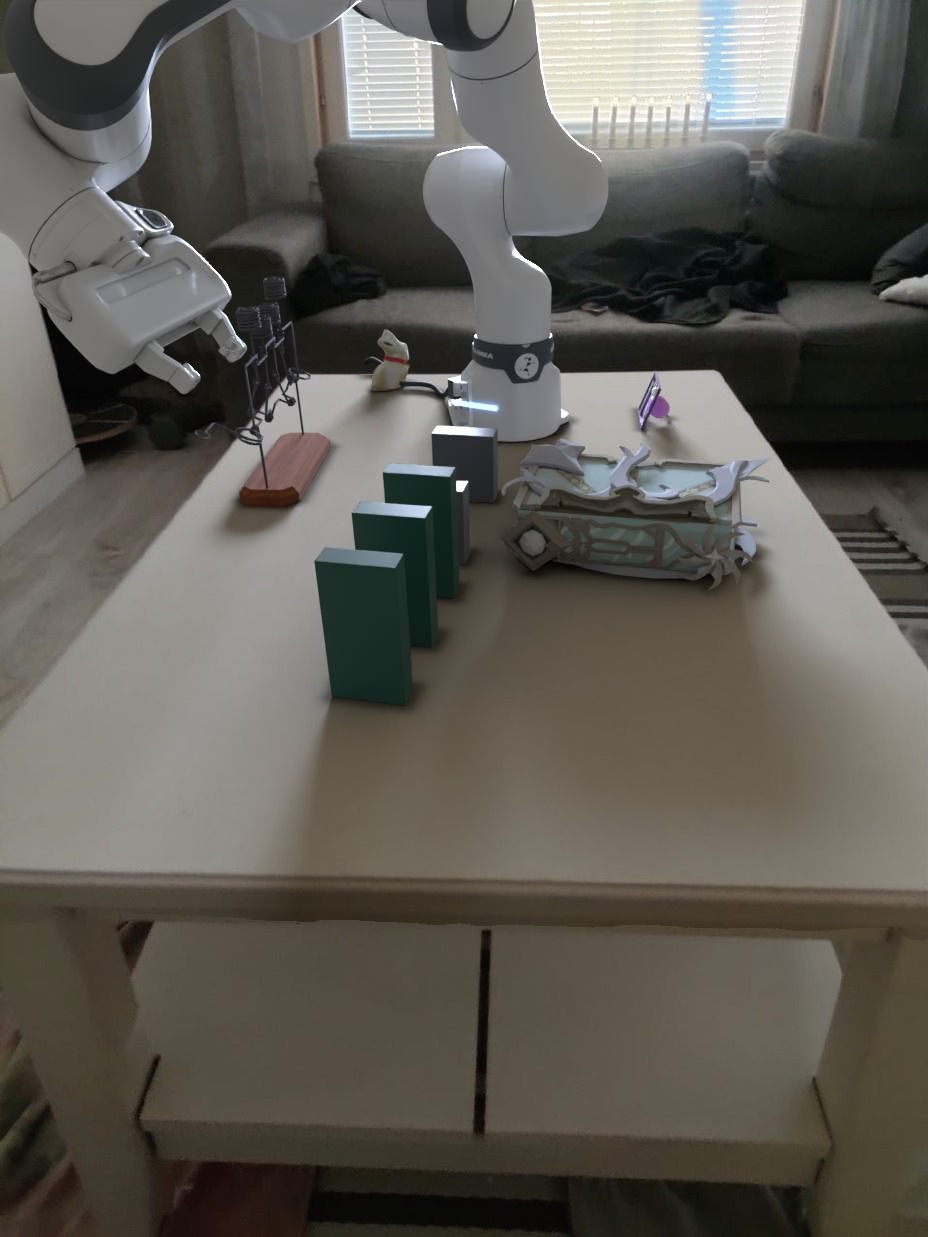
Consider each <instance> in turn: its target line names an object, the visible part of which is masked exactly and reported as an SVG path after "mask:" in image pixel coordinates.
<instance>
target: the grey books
mask: <svg viewBox="0 0 928 1237" xmlns="http://www.w3.org/2000/svg"><path fill="white" fill-rule="evenodd" d="M430 435H431V436H430V437H431V438H430V439H431V456H432V458H431V459H432V460H431V461H432V466H443V467H456V483H457V516H458V548H459V565H465V564H466V562H467V560H468V559H469V556H470V554H471V520H470V519H471V518H470V502H474V503H475V502H476V503H491V504H494V502H495V501H496V498H497V496H498V494H499V443H498V442H499V441H498V429H491V428H473V427H455V426H453V425H451V426H450V425H436V426H435V428H434V429H433V431H432V432H431V434H430Z"/></svg>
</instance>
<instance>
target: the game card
mask: <svg viewBox="0 0 928 1237" xmlns="http://www.w3.org/2000/svg"><path fill="white" fill-rule="evenodd" d="M661 391H662V385H661V382H660V378H659V374H658V372H657V371H654V372H653V375H652V377H651V379H650V381H649V383H648V385H647V387H646V390H645V392H644V395H643V397H642V398H641V401H640V404H639V405H638V408H637V415H638V422H639V427H640V429H641V430H644V428H645V426H646V424H647V422H648V420H649V418H650V415H651V416H652V417H653V418H655V419H663V418H666V419H667V420H668V418H670V416H669V412H670V410H671V407H670V403H669V402H668V400H667V399H666V398H665V397H664V396H663V395H660V394H661ZM651 396H652V397H651Z"/></svg>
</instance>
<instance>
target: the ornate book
mask: <svg viewBox="0 0 928 1237" xmlns="http://www.w3.org/2000/svg"><path fill="white" fill-rule="evenodd" d="M639 444H640V445H639V446H640V448H639V449H638V451H637V452H636V453H635V455H634V454H633V452H632V451H631V449H629V448H627V447H625V446H622V445H619V449H620V450H621V452H622V453H623V457H622V458H620V457H619V458H618V457H614V456H613V455H608V454H599V453H598V454H597V453H596V454H595V453H583V452H584V451H585V450H586V446H585V445H583V444H579V443H576V442H572V441H570V440H567V439H564V438H560V437H559V438H558V443H557V444H554V445H553V444H532V443H531V449H530V450H529V452H528V453H527V454H526V456H525V457H524V458H523V460H522V461H521V463H520V466H521V467H519V468H520V470H519V471H520V474H521V477H517V478H514V479H512V480H510V481H507V482H506V483H505V484H504V485H503V486H502V488H501V491H500V492H501V495H502V496H503V498H504V497H505V495H506V493H507V491H508V488H509V486H511V485H514V484H515V483H520V482H522V484H521V486H520V488H519V489H518V492H517V494H516V496H515V499H514V500H513V503H512V508H513V509H514V510H515V511H516V512H517V518H516V524H514V525H511V526H510V528H508V530H506V531H505V532H504V533H503V534H502V536H500V538H499V539H500V540H501V541H502V542H503V543H504V544H505V545H506V547H507V548H508V549H509V550H510V551H511V552H513V553H514V554H515V555H516V556H515V557H516V558H517V559H518V560H520V561H521V562H522V563H523V564H524V565H525V566H527V568H529V569H530V570H531V571H532V572H534V571H535V570H537V569H539V568H540V567H542V566H543V565H545V564H546V563H548V562H549V561H552V562H556V563H557V562H558V563H562V564H568V565H573V566H577V567H580V568H583V569H588V570H592V571H596V572H601V573H606V574H610V575H614V576H625V577H633V578H636V577H637V578H646V579H686V580H690V581H698V580H699V579H702V578H703V577H705V576H707V575H711V576H712V577H713V578H714V581H713V583H712V585H711V586H710V587H709V588H708V589H707V591H710V590H712V589H715V588H717V587H718V586H719V585H720V584H721V582H722V578H723V576H726V575H728V574H731V573H732V574H733V575H734V577H735V585H736V586H737V585H738V583H739V581H740V579H741V570H740V569H739V568H738V567H737V565H736V560H737V559H738V558H743V560H742V562H741V567H743V566H744V565H746V564H747V563H749V562H751V563H752V564H754V560H753V558H754V556H756V552H757V546H756V545H757V544H756V540H755V539H754V537H753V536H752V534H751V533H750V532H749V531H747V530H745V529H743V528H741V527H740V526H745V527H753V528H754V527H755V528H757V527H758V523H757V522H754V521H752V520H750V519H749V518H747V517H744V516H743V515H742V493H741V492H742V491H741V490H742V489H741V482H744V481H749V480H753V481H758V482H764V483H770V480H768V479H766V478H765V477H761V476H758V475H751V473H753V472H754V471H755V470H757V469H758V468H759V467H762V465H764V464H765V463H767V462H768V461H770V460H771V458H762V459H753V460H745V459H744V460H741V459H740V460H734V461H732V462H724V461H723V462H722V461H720V462H719V461H718V462H717V461H697V460H686V459H678V458H677V459H676V458H660V459H657V460H649V457H650V456H651V453H652V452H651V451H652V450H651V449H650V448H649V447H648V446H647V445H646V444H643V443H641V442H640V443H639ZM524 467H529V468H528V470H527V469H525V468H524ZM735 546H737V547H740V548H741V549H742V550H739V549H735Z"/></svg>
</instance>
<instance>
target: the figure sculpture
mask: <svg viewBox="0 0 928 1237" xmlns="http://www.w3.org/2000/svg"><path fill="white" fill-rule="evenodd" d="M262 286H263V292H264V293H263V294H264V299H265V300H267V301H270V302H262V303H259V304H258V305H257V306H256V305H249V306H246V305H245V306H239V307H237V308H236V309H235V310H236V311H234V313H235V318H236V326H237V327H238V328H237V330H238V331H240V332H248V333H249V340H250V347H251V353H252V354H251V355H249V357H250V359H249V360H248V361H247V362H246V363H245V364H244V369H243V370H244V377H245V384H246V390H247V395H248V403H249V404H248V408H247V413H246V416H247V417H248V418H249V419H251V422H252V423H251V424H252V425H251V426H250V428H248V427H237V428H235V429H234V430H233V429H231V428H228V427H226V426H224V425H222V424H220V423H218V422H211V424H209V426H208V427H207V428H206V429H205V430H199V429H198V430H197V429H196V430H194V436H195V438H198V439H200V440H205V441H208V442H209V441H210V440H211V437H212V435H210V434H209V433H208V432H209V431H210V430H211V429H212V428H213V427H217V428H219V429H221V430H224V431H226V432H228V433H230V434H232V435H234V437H235V438H237V440H239V441H240V442H241V443H244V444H246V445H249V446H258V448H259V453H260V459H261V461H260V462H259V463H258V465H257V467H256V468H255V469H254V471H253V472H252V473H251V475H250V476H249V478H248V479H247V480H246V482H245V483H244V484H243V486H242V487H241V489H240V490H239V491H238V495H239V496H238V497H239V501H240V502H241V503H243V504H245V505H246V506H248V507H287V506H290V505H293V504H296V503H299V502H301V500H302V498H303V496H304V495H305V493H306V492H307V489H308V488H309V486H310V484H311V482H312V481H313V479H314V477H315V476H316V474H317V472H318V471H319V468H320V467H321V465H322V463H323V462H324V460H325V458H326V456H327V455H328V453H329V451H330V449H331V440H330V438H328V437H326V436H325V435H324V434H321V433H319V432H305V430H304V423H303V414H302V407H301V400H300V392H299V385H298V382H299V381H300V380H301V381H308V380H311V379H312V375H311V373H309V372H307V370H305V369H302V368H301V367H299V363H298V355H297V347H296V339H295V331H294V325H293V323H294V322H293V321H292V320H290V321H289V322H288V323H287V324H286V325H284V326H283V327H282V320H281V316H280V306H279V301H278V300H281V299H286V298H287V295H288V294H287V290H286V289H287V288H286V281H285V278H284V277H281V276H269V277H265V278H264V279H263V281H262ZM273 301H275V302H273ZM276 325H278V328H277V329H276V332H277V334H276V335H277V336H274V331H273V326H276ZM288 327H290V333H291V342H292V351H293V359H294V366H295V367H294V366H291V367H289V368H288V367H287V364H286V359H285V356H284V355H285V354H286V353H285V350H286V347H285V345H284V340H285V335H284V334H285V332H284V331H285V330H286V329H287V328H288ZM265 338H267V339H268V341H267V343H265ZM254 339H258V340H259V339H260V340H261V345H260V346H259V347H258V349H260V350H259V352H260V357H261V359H260V360H259V357H258V356H259V354H258V353H256V347H255V342H254ZM277 340H279V341H277ZM276 341H277V343H276ZM268 347H269V349H271V350H272V355H273V362H274V369H273V371H272V374H271V375H272V377H273V378H274V379H275V381H276V382H277V384H278V387H279V389H280V391H281V396H283V397H284V399H282V398H277V399H276V400H275V401H274V402H273V406H272V409H271V408H269V395H270V392H271V391H272V385H271V382H270V375H269V366H268V357H269V355H268V351H267V350H268ZM276 349H277V350H278V352H280V356H281V360H282V364H283V368H284V369H283V370H284V372H285V377H286V380H287V383H286V387H285V389H284V388H283V386H282V384H281V382H280V380H281V378H280V373H279V372H278V364H277V355H276ZM258 360H259V361H258ZM262 363H264V368H265V374H266V381H267V383H265V384H264V386H263V389H264V390H265V399H264V400H265V401H264V411H261V410H258V409H256V408H255V407H253V403H254V399H255V397H256V396H255V395H256V392H257V390H258V387H259V386H261V385H262V384H261V379H260V374H259V368H258V367H259V366H260V365H261V364H262ZM249 365H251V367H253V368H254V375H255V377H253V381H252V385H253V388H252V392H251V389H250V383H249V376H248V367H249ZM292 370H293V371H295V373H294V372H292ZM300 372H302V373H304V374H305V375H306V376H307V377H303V376H300ZM292 385H295V392H296V398H297V400H296V398H295V397H293V396H290V395H288V394H286V393H287V392H288V390H289V387H291V386H292ZM279 402H282V403H284V404H287V406H288V407H294V405H296V403H297V406H298V414H299V421H300V430H301V432H288V433H284V434H281V435H280V436H279V437H278V438H277V439H276V440H275V442H274V443H273V444H272V446H271V448H270V449H269V450H268V451H267V452H266V454H265V456H264V448H263V440H264V435H262V433H261V431H260V430H261V429H260V425H261V424H262V423H263V420H264V422H265V423H269V424H270V423H272V422H273V420H274V418H275V417H274V413H275V409H276V407H277V405H278V403H279ZM268 408H269V409H268ZM257 414H261V415H263V416H264V419H262V418H260V417H258V416H256V415H257ZM256 421H258V422H257V424H256ZM239 431H244V432H245V431H248V432H249V434H250V435H251V436H254V437H256V438H257V439H255V438H252V437H248V436H246V435H244V434H241V433H239ZM199 434H204V435H205V436H207V437H203V436H201V435H199Z"/></svg>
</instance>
